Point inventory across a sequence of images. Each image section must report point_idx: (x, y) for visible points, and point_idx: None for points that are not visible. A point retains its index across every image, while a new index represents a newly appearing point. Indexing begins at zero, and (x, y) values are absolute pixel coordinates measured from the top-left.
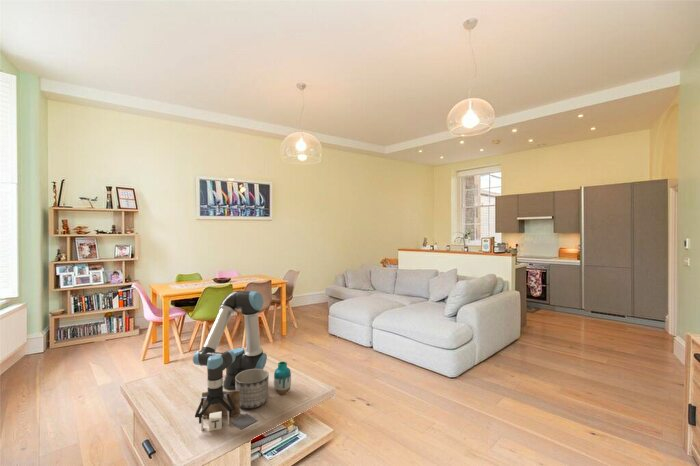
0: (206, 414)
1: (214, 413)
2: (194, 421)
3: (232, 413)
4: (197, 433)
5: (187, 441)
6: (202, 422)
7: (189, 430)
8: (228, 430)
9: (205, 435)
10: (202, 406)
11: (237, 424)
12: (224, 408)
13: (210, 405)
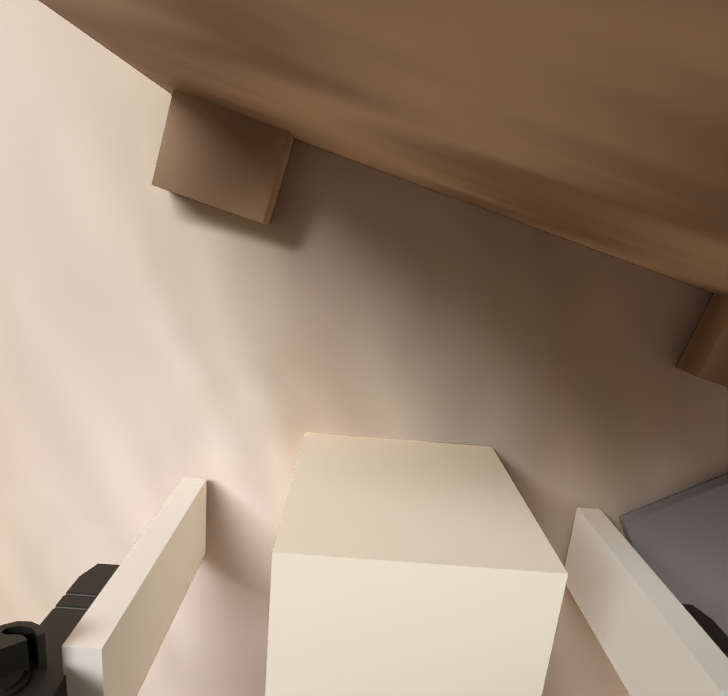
0: (243, 122)
1: (390, 596)
2: (43, 221)
3: (724, 326)
4: None
5: None
6: (147, 657)
7: (4, 462)
8: (545, 682)
9: (246, 665)
10: (46, 1)
11: None
12: (648, 249)
13: (303, 94)
